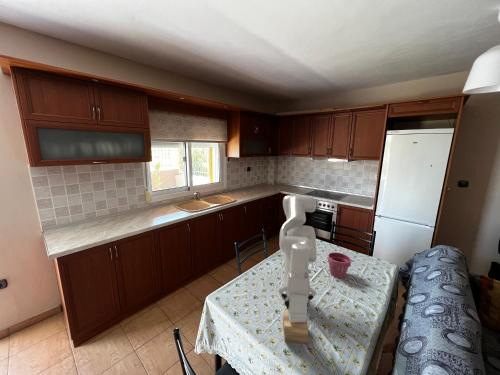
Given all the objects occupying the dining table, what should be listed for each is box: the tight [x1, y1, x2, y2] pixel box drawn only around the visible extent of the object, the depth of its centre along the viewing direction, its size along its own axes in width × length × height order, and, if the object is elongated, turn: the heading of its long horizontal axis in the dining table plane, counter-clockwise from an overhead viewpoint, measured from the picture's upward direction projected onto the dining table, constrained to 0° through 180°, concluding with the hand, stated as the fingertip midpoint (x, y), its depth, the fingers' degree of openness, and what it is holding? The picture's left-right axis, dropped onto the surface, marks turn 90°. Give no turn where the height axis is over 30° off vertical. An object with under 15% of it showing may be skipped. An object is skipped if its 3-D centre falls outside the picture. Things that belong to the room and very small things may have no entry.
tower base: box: [282, 316, 309, 345], centre depth 95 cm, size 10×10×4 cm
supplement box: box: [285, 294, 308, 322], centre depth 93 cm, size 7×7×13 cm
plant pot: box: [327, 251, 352, 279], centre depth 139 cm, size 14×14×13 cm
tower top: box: [283, 308, 309, 337], centre depth 94 cm, size 10×10×4 cm
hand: (296, 307), depth 93 cm, fingers closed on supplement box, 7 cm apart
